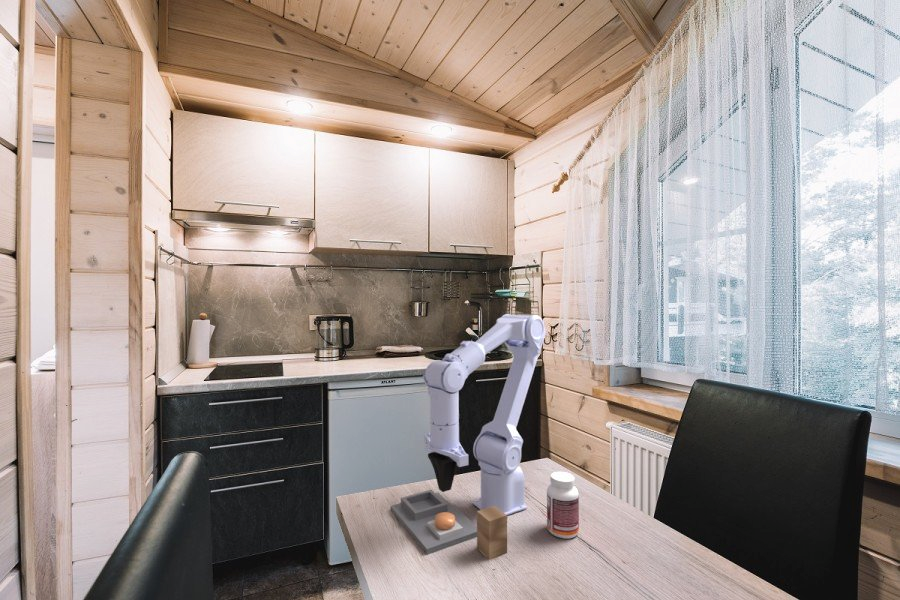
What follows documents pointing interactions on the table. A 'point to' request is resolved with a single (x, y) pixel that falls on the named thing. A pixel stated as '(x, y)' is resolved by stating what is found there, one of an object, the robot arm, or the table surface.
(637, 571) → the table surface
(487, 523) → the block
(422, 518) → the loading station
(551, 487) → the pill bottle
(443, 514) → the button
